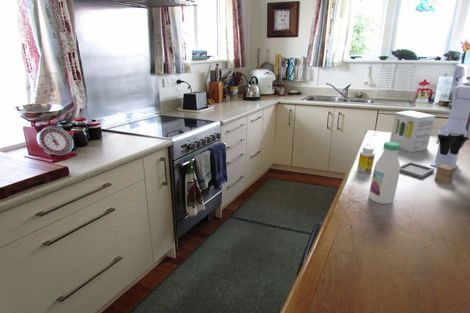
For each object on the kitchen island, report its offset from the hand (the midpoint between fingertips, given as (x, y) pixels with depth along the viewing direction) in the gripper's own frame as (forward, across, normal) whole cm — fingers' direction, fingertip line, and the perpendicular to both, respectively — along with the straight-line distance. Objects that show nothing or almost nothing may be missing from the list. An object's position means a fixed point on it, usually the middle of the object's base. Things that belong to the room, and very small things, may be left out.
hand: (448, 154), depth 120 cm
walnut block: (+11, +2, 0) cm, 11 cm away
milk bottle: (+16, -33, +3) cm, 37 cm away
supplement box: (+5, +30, +32) cm, 45 cm away
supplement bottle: (+12, -17, +22) cm, 30 cm away
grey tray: (+10, +2, +11) cm, 15 cm away
